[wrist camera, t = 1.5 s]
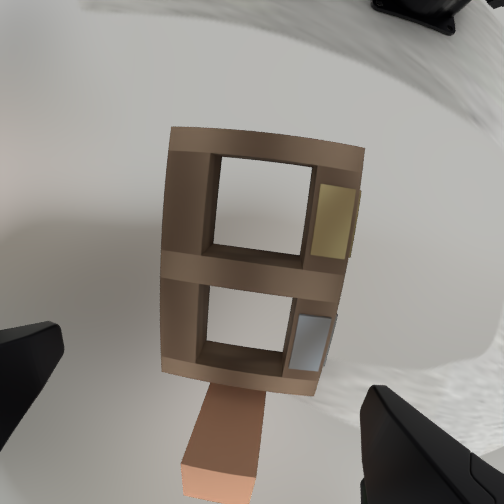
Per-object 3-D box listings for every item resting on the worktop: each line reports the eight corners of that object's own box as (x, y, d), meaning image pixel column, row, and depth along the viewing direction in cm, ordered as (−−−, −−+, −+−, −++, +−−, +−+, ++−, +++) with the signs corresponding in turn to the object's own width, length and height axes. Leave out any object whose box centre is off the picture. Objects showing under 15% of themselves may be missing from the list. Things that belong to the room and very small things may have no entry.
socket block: (355, 153, 17) (369, 148, 14) (313, 370, 21) (317, 398, 17) (188, 133, 18) (169, 126, 14) (175, 349, 21) (160, 373, 18)
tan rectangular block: (267, 380, 21) (256, 477, 12) (260, 416, 22) (247, 507, 13) (214, 372, 21) (180, 463, 13) (211, 408, 22) (183, 495, 14)
